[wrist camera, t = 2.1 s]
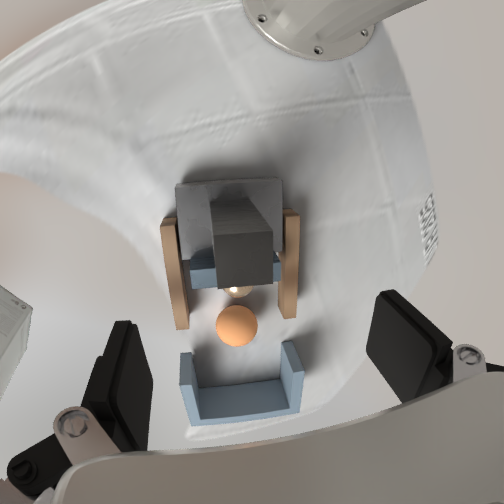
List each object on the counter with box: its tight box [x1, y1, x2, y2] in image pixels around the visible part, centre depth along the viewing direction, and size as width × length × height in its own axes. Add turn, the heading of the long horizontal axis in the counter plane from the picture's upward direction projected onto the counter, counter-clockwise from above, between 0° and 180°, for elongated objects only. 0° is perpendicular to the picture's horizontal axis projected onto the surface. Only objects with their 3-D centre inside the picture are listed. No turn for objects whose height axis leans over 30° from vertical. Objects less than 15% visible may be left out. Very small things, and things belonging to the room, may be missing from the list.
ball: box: [216, 305, 258, 346], centre depth 28 cm, size 4×4×4 cm
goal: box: [179, 341, 305, 426], centre depth 31 cm, size 7×12×5 cm, turn 92°
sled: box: [175, 177, 283, 298], centre depth 22 cm, size 8×8×10 cm
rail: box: [160, 209, 300, 330], centre depth 27 cm, size 10×11×2 cm
